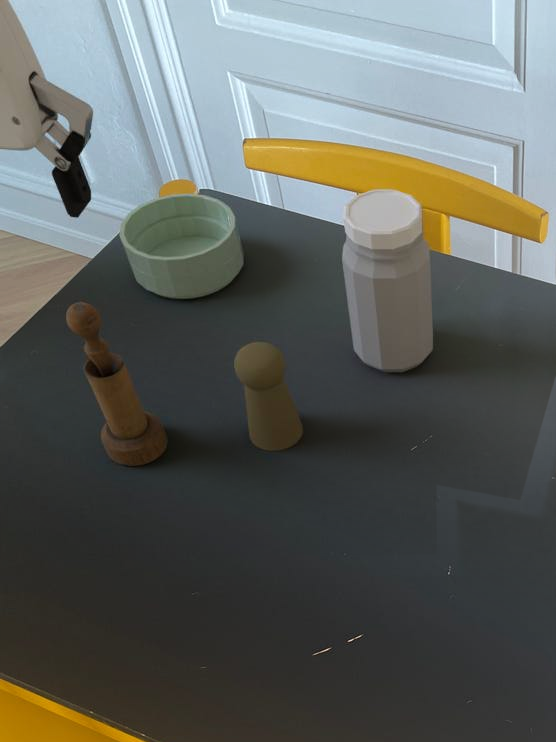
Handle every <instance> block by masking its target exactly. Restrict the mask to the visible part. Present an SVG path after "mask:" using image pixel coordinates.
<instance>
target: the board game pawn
mask: <svg viewBox="0 0 556 742" xmlns="http://www.w3.org/2000/svg"><path fill="white" fill-rule="evenodd" d="M233 365H234V366H233V367H234V372H235V375H236V377H237V378H238V380H239V381H240V383H241V384H242V385H243V388H244V397H245V406H246V416H247V417H246V418H247V424H248V434H249V439H250V441H251V443H252V444H253V445H255V446H256V447H257V448H258V449H261V450H264V451H268V452H269V451H270V452H275V451H276V452H277V451H283V450H286V449H288V448H292V447H293V446H295V444H297V443H298V442H299V440H300V439H301V438H302V435H303V433H304V428H303V427H304V426H303V423H302V420H301V419H300V415H299V413H298V410H297V408H296V405H295V403H294V401H293V398H292V395H291V392H290V391H289V388H288V386H287V384H286V383H287V382H286V380H285V379H284V378H285V374H286V362H285V357H284V356H283V354H282V352H281V351H280V350H279V349H278V348H277V346H274V345H273V344H271V343H268V342H266V341H265V342H263V341H255V342H251V343H248V344H246V345H244V346H242V347H240V349H239V350H238V351H237V353H236V355H235V358H234V364H233Z"/></svg>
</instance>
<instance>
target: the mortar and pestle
mask: <svg viewBox="0 0 556 742" xmlns="http://www.w3.org/2000/svg"><path fill="white" fill-rule="evenodd" d="M65 319H66V320H65V321H66V323H67V325H68V327H69V329H70V330H71V331H72V332H74V333H75V334H76V335H78V336H79V337H81V338H82V339H83V340H84V343H85V344H84V345H83V351H84V352H85V354H86V355H87V356H88V358H89V359H87V360H86V362H84V363H85V364H84V365H83V372H84V374H85V376H86V379H87V380H88V383H89V385H90V386H91V389H92V391H93V393H94V397H95V398H96V400H97V402H98V405H99V407H100V409H101V411H102V413H103V416H104V418H105V420H106V422H105V423H104V425H102V426H103V427H102V429H101V432H100V440H101V443H102V444H103V447H104V449H105V452H106V454H107V455H108V457H109V458H110V459H111V460H112V461H113V462H115V463H116V464H118V465H121V466H128V467H138V466H139V467H140V466H143V465H147V464H149V463H152V462H153V461H156V460H157V459H158V458H159V457H161V456H162V455H163V454H164V453H165V451H166V449H167V448H168V436H167V434H166V432H165V429H164V426H163V424H162V422H161V421H160V420H161V419H159V418H158V417H157V416H156V415H154V414H153V413H150V412H149V411H144V409H143V406H142V404H141V403H140V399H139V397H138V395H137V392H136V389H135V387H134V384H133V382H132V380H131V379H132V378H131V376H130V373H129V371H128V369H127V365H126V364H125V360H124V358H123V357H122V356H121V355H119V354H117V353H114V352H110V348H109V344H108V342H107V341H106V340H104V339H103V338H101V337H100V329H101V323H102V321H101V315H100V313H99V312H98V310H97V309H96V308H95V307H94V306H93V305H92V304H90V303H88V302H83V301H79V302H75V303H73V304H71V305H70V306H69V307H68V308H67V311H66V314H65Z"/></svg>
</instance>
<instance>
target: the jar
mask: <svg viewBox="0 0 556 742" xmlns="http://www.w3.org/2000/svg"><path fill="white" fill-rule="evenodd" d="M422 209H423V207H422V204H421V203H420V202H419V201H418V200H417V199H416V198H415V197H414V196H413V195H411V194H408V193H405V192H402V191H399V190H396V189H372V190H369V191H366V192H365V191H364V192H362V193H359V194H356V195H355V196H353V197H352V198H351V199H350V200H349V201H347V203H346V204H344V207H343V215H342V216H343V217H342V220H343V226H344V234H346V237H345V242H344V244H343V246H342V255H341V261H342V271H343V276H344V284H345V292H346V299H347V306H348V307H347V308H348V314H349V315H348V316H349V323H350V328H351V329H350V330H351V338H352V346H353V351H354V352H355V354H356V355H357V356H358V357H359V359H360V360H361V361H362V362H363V363H364V365H365V364H366V365H367V366H368V367H370V368H372V369H375V370H377V371H381V372H383V373H403V372H407V371H409V370H411V369H414V368H417V367H418V366H419V365H421V364H422V363H423V362H424V361H425V360H426V358H427V357H428V356H429V355H430V354H431V353H432V351H433V350H434V330H433V303H432V302H433V301H432V279H431V278H432V277H431V252H430V250H431V249H430V244H429V243H428V242H427V241H426V239H424V229H423V210H422Z"/></svg>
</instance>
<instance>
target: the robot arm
mask: <svg viewBox="0 0 556 742" xmlns="http://www.w3.org/2000/svg"><path fill="white" fill-rule="evenodd" d="M58 114H59V115H58ZM59 116H62V117H64V118H65V119H66V121H68V129H69V130H68V129H66V127H64V126H63V124H61V122H59V121H58V119H59ZM93 118H94V110H93V108H92V105H90V104H89V103H87V102H86V101H84V100H82V99H80V98H79V97H77V96H75V95H73V94H72V93H70V92H67V91H66V90H64V89H63V88H61V87H59V86H57V85H56V84H54V83H52V82H50V81H49V80H47V78H46V75H45V73H44V71H43V68H42V65H41V64H40V62H39V59H38V57H37V54H36V52H35V50H34V48H33V46H32V43H31V42H30V39H29V36H28V35H27V33H26V30H25V29H24V27H23V24H22V23H21V21H20V19H19V17H18V15H17V13H16V11H15V9H14V8H13V6H12V4H11V3H10V0H0V150H6V151H21V152H22V151H24V152H25V151H30V150H32V149H36V150H37V151H38V152H39V153H40V154H42V156H44V157H45V158H46V159H47V160H48V161H49V162H50V163H51V164H52V165H54V167H53V168H52V170H51V176H52V178H53V181H54V183H55V187H56V189H57V191H58V193H59V196H60V199H61V201H62V204H63V206H64V208H65V211H66V214H67V215H68V216H69V217H70V218H76V219H78V218H79V217H80V216H81V215H82V213H83V212H84V211H85V209H86V207H87V206H88V205H89V204H90V202H91V200H92V188H91V187H90V183H89V180H88V178H87V176H86V173H85V170H84V166H83V165H82V161H81V160H80V155H81V154H82V152H83V151H84V150H85V147H86V146H87V144H88V143H89V141H90V140H91V138H92V132H91V130H92V126H93V120H94V119H93ZM46 134H48V135H49V137H51V138H52V139H53V140H54V141H55V142H56V143H57V144H59V145H60V147H58V146H57V145H56V144H55V143H54V142H53V141H52V140H51V139H50V138H48V137H47V135H46Z"/></svg>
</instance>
